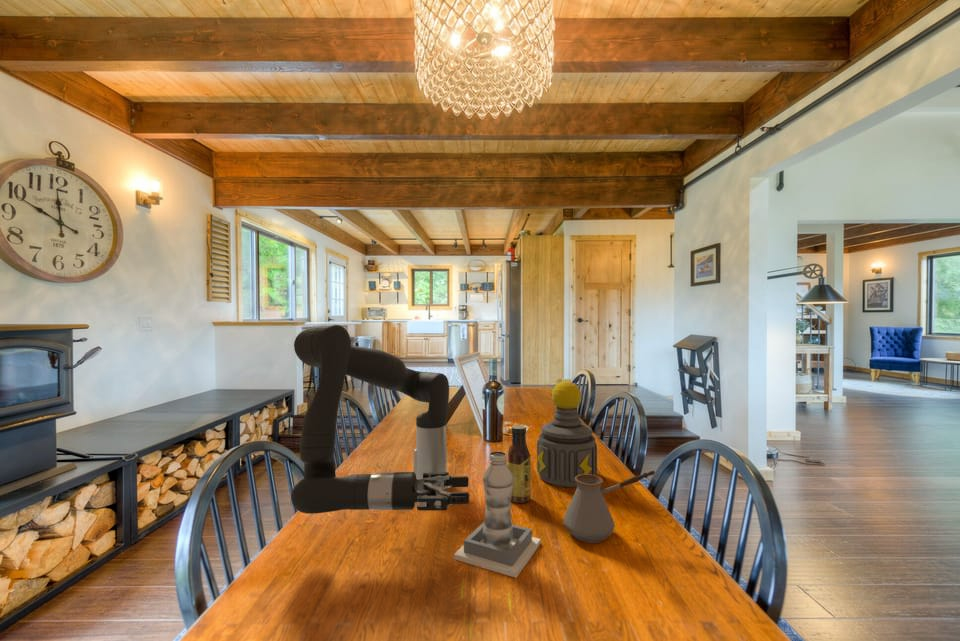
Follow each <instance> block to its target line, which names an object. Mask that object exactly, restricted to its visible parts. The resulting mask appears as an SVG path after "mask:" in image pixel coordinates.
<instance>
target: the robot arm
mask: <svg viewBox="0 0 960 641" xmlns="http://www.w3.org/2000/svg"><path fill="white" fill-rule="evenodd" d="M293 349H294V352H295V354H296V356H297V358H298V359H299V360H300V362H302V363H303V364H305V365H307V366H309V367H313V368H318V369H320V377H319V380H318V381H319V382H318V386H317V388H316V391H315V393H314V396H313V397H312V398H313V399H312V400H311V402H310V404H309V406H308V407H307V410H306V412H305V415H304V418H303V421H302V426H301V432H300V434H301V435H300V445H299V447H300V448H299V457H300V458H299V459H300V461H301V462H303V465H304V466H303V467H304V468H303V473H304V475H303V476H304V477H303V478H302V479H300V481H298V482H297V483H296V484H295V485H294V487H293V488H292V491H291V493H290V499H291V503H292V506H293V507H294V509H296V510H297V511H298V512H300V513H303V514H309V515H311V514H315V515H316V514H323V513H325V514H326V513H331V512H332V513H333V512H337V511H343V510H345V511H346V510H352V511H356V510H357V511H358V510H359V511H361V510H362V511H363V510H364V511H365V510H374V511H409V510H410V511H411V510H412V511H413V510H414V508H415V507H416V510H417V511H432V512H434V511H435V512H436V511H439V512H440V511H442V512H443V511H447V510H448V507H451V505H468V504H469V503H470V493H469V492H468V491H451V492H450V491H446V489H450V488H468V487H469V476H468V475H461V476H460V475H458V476H453V475H451V474H450V472H449V471H448V470H447V466H448V465H447V464H448V463H447V460H448V459H447V451H448V450H447V418H448V413H449V404H450V403H449V402H450V383H449V378H448V377H447V375H445V374H444V373H440V372H432V371H430V372H429V371H419V370H414V369H411V368H408V367H407V366H406V365H405V363H404V361H403V360H402V359H401V358H399V357H397V356H395V355H393V354H391V353H389V352H386V351H383V350H380V349H377V348H371V347H365V346H356V345H352V339H351V336H350V333H349V331H348V329H346V328H345V327H344V326H343V325H340V324H335V323H331V324H324V325H319V326H312V327H309V328H305V329H304V330H302V331H301V332H299V333H298V334H297V335H296V337H295V339H294V341H293ZM346 376H349V377H351V378H353V379H356V380H359V381H362V382H364V383H367V384H370V385H372V386H375V387H378V388H381V389H384V390H389V391H394V392H399V393H402V394H403V395H406V396H407V397H409V398H411V399H413V400H414V401H417V402H421V403H428V408H427V411H425V412H422V413H419V414H417V416H416V417H415V418H416V419H415V426H416V428H415V429H416V431H415V432H416V433H415V434H416V439H415V441H416V446H415V447H416V448H415V449H414V450H413V471H392V472H391V471H389V472H386V471H384V472H379V473H378V472H377V473H357V474H350V475H346V476H340V477H339V476H336V473H337V472H336V465H335V464H336V462H335V457H334V455H335V445H336V433H337V432H336V431H337V421H338V412H339V407H340V401H341V397H342V392H343V390H344V389H343V388H344V384H345V378H346Z"/></svg>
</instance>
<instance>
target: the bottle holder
mask: <svg viewBox="0 0 960 641" xmlns="http://www.w3.org/2000/svg"><path fill="white" fill-rule="evenodd" d="M484 522H485V520H484V521H483V522H482V523H481V524H480V525H479V526H478V527H477V528H476V529H474V531H472V532H471V533H470V534H469V535H468V536H467V537H466V538H465V539H463V545H462V546H461V547H460V548H459V549H458V550H457V551H456V552H455V553H454V554H453V560H456V561H460V562H462V563H466V564H468V565H469V564H470V565H472V566H476V567H479V568H483V569H485V570H489V571H491V572H492V571H493V572H495V573H499V574H501V575H505V576H509V577H512V578H516V579H517V577H518V576H519V575H520V574H521V573H522V570H523V569H524V568H525V566H526V565H527V563H528V562H529V561H530V559H531V558H532V556H533V555H534V554H535V552H536V551H537V549H538V548H539V546H540V545H541V543H542V539H541V538H538V537H534V536H533V529H532V528H528V527H523V526H520V525H516V524H512V527H513V534H514V535H513V541H512V543H511V545H510V546H509V547H508V548H507V549H503V548H499V547H495V546H492V545H488V544H485V543H484V541H483V536H482V533H483V526H484Z"/></svg>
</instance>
